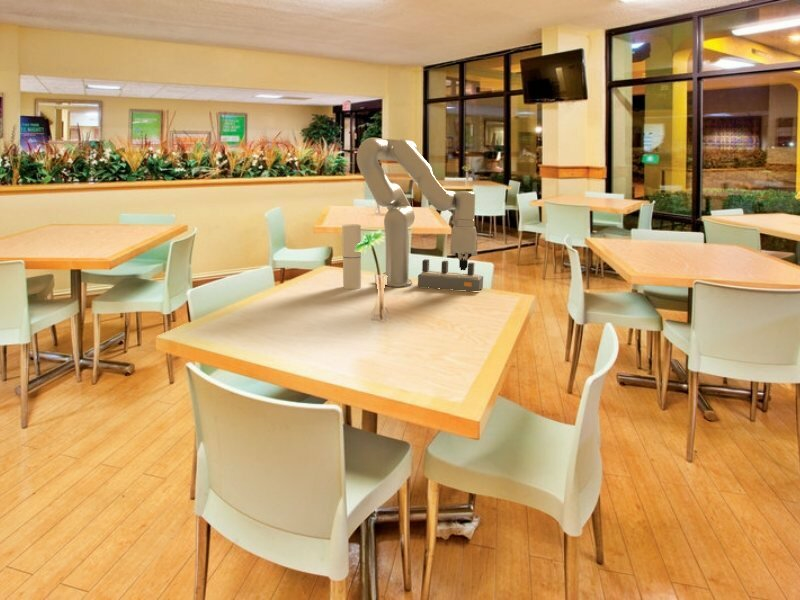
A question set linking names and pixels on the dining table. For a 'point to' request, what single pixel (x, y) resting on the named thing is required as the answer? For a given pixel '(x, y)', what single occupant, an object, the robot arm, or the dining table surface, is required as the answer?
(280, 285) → the dining table surface
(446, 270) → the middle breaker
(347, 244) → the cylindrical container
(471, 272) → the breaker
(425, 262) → the peg
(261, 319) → the dining table surface
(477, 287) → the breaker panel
